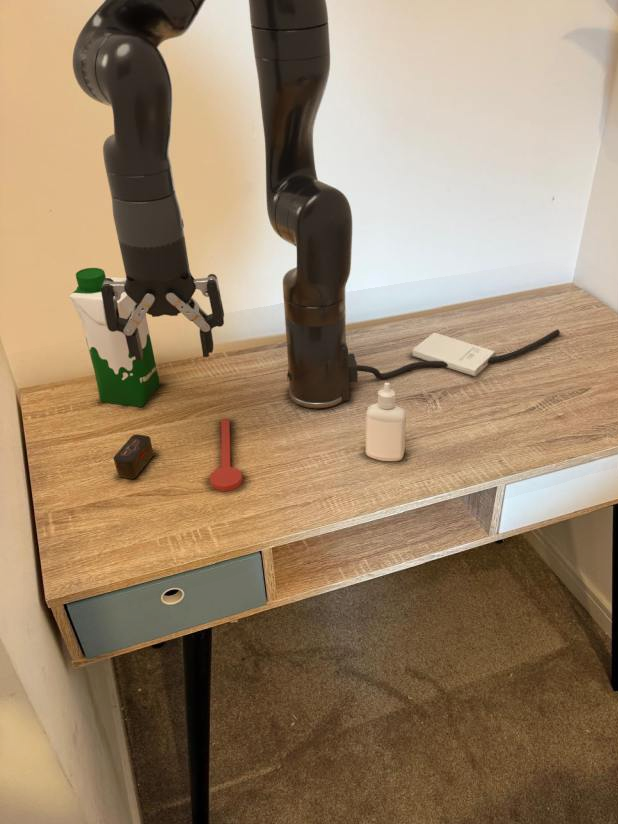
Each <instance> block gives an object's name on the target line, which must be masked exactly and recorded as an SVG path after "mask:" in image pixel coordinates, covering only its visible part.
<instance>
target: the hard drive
mask: <svg viewBox="0 0 618 824" xmlns="http://www.w3.org/2000/svg"><path fill="white" fill-rule="evenodd" d="M496 353H497V351H496V350H492V349H489V348H486V347H483V346H478V345H476V344H472V343H471V342H470V343H469V342H466V341H463V340H460V339H458V338H454V337H451V336H447V335H444V334H441V333H438V332H433V333H431V334H430V335H429V336H427V337H426V338H425V339H424V340H422V341H421V342H420V343H419V344H417V345H416V346H415V347H413V349H412V353H411V355H412V357H413V358H418V359H420V360H423V361H443V362H446V363H447V364H448V366H447V367H446V369H451V370H453V371H457V372H459V373H462V374H465V375H469V376H472V377H476V376H478V375H479V374H480V373H481V372H482V371H483V370H484V369H486V367H487V366H489V364H488V363H487V362H488V360H489V358H491V357H496Z"/></svg>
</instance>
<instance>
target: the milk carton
mask: <svg viewBox="0 0 618 824" xmlns="http://www.w3.org/2000/svg"><path fill="white" fill-rule="evenodd" d="M75 278H76V282H77V283H76V284H77V287H76V289H75V290H74V291H73V292H72V293H71V294H70V295H69V299H70V301H71V303H72V306H73V307H74V309H75V311H76V313H77V315H78V317H79V319H80V321H81V325H82V326H81V327H82V329H83V333H84V338H85V340H86V344H87V348H88V352H89V357H90V360H91V363H92V364H91V365H92V367H93V370H94V377H95V381H96V385H97V392H98V396H99V400H100V401H99V402H101V403H108V404H115V405H122V406H128V407H137V408H143V407H144V406H145V405H146V404H147V402H148V401H149V400H150V398H152V396H153V395H154V393H156V391H157V390H158V389H159V388H160V387H161V382H160V377H159V372H158V368H157V364H156V358H155V354H154V349H153V348H154V347H153V343H152V339H151V334H150V330H149V324H148V318H147V314H146V315H145V316H144V318H143V319H142V321H141V323H140V324H139V325H138V326H137V328H138V331H139V336H140V341H141V345H142V350H143V358H142V360H141V361H136V359H135V357H132V356H131V355H130V354H129V350H128V345H127V341H126V337H125V335H124V334H123V333H122V332H119V331H115V332H112V331H110V330H109V329H108V327H107V322H106V316H105V310H104V304H103V299H102V293H101V288H102V285H103V282H104V280H105V279H106V278H111V279H112V280H113V281H114V282H126V277H113V276H106V273H105V270H104V269H102V268H99V267H86V268H82V269H80V270H78V271H77V272H76V273H75ZM117 304H118V311H119V317H120V318H124V319H127V318H128V316H129V314H130V313H131V311H132V309H133V307H134V305H135V302H134V301H133V300H132V299H131V298H130V297H129V296H128V295H127V294H126V292H123V293H122V294H121V298H120V300H118V301H117Z"/></svg>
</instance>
